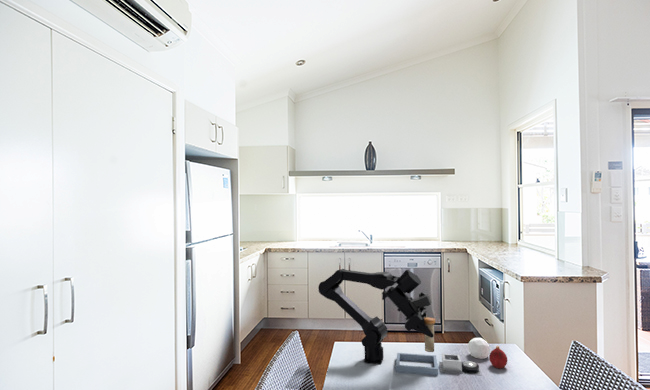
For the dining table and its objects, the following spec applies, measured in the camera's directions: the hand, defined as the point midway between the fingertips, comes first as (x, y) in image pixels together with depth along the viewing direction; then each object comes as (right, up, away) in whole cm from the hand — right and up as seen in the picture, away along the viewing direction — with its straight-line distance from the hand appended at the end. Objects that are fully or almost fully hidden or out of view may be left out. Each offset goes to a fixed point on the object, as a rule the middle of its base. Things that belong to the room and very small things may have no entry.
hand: (433, 335), depth 130 cm
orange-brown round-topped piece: (-1, -6, 0) cm, 6 cm away
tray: (-6, -12, 0) cm, 14 cm away
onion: (+23, -12, -2) cm, 25 cm away
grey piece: (+9, -12, -2) cm, 15 cm away
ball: (+20, -12, +8) cm, 25 cm away
